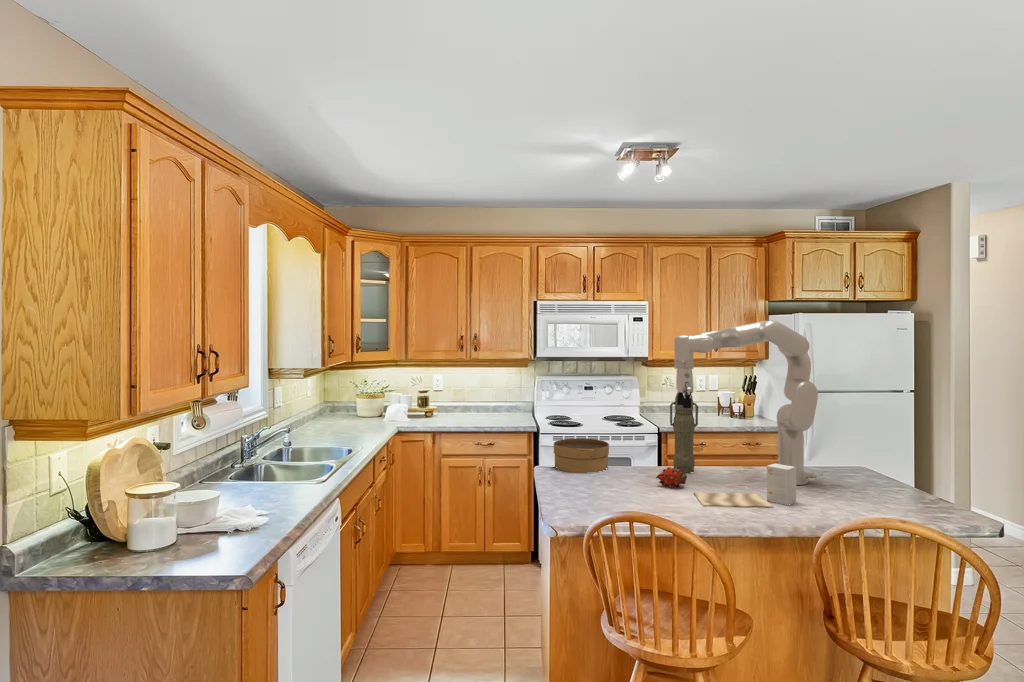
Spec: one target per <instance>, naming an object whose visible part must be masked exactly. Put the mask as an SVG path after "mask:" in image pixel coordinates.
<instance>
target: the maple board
mask: <svg viewBox="0 0 1024 682" xmlns="http://www.w3.org/2000/svg"><path fill="white" fill-rule="evenodd" d="M693 495H694V497H695V496H696V497H697V498H696V497H695V498H696V499H697V501H698V502H699V501H700V502H699V503H700V504H701V506H702V505H703V506H702V507H707V506H734V507H733V508H751V507H773V508H774V506H773V504H772V503H770V501H767V499H765V497H764V496H762V495H761V494H760V493H742V492H741V493H736V492H735V493H734V492H696V491H695V492H693Z"/></svg>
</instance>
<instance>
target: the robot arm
mask: <svg viewBox="0 0 1024 682" xmlns="http://www.w3.org/2000/svg"><path fill="white" fill-rule="evenodd" d="M673 342H674V344H673V345H674V346H673V347H674V369H675V370H676V376H675V377H676V379H675V385H676V391H677V393H676V394H677V405H683V408H691V394H693V393H694V377H693V370H694V353H701V354H707V353H710V352H711V351H712V350H716V349H725V348H741V347H744V346H745V347H746V346H750V345H755V344H761V343H765V342H770V343H772V344H773V345H776V346H777V348H778V351H779V352H780V353H781V354H782V355H783V356H784V357H785V358H786V362H787V372H786V378H785V383H784V388H783V394H784V397H786V398H787V399H788V400H789V401H790V402H791V403H787V404H783V405H782V406H780V407H779V408H778V411H777V412H776V424H777V435H778V440H777V441H778V444H777V446H778V448H777V449H778V451H777V452H778V454H777V455H778V457H777V459H778V460H777V461H778V463H777V464H781V465H787V466H793V467H796V486H803V485H808V483H809V481H808V479H817V473H815V472H807V471H805V470H804V466H805V462H804V461H805V459H804V457H805V456H804V455H805V436H804V432H806V431H808V430H809V429H810V428H811V427H812V426H813V423H814V421H815V415H816V411H817V405H818V399H819V392H818V388H817V386H816V385H815V384H814V383H813V382H811V381H810V378H811V373H812V372H811V371H812V363H811V362H812V361H811V358H810V355H809V353H808V352H809V351H810V342H809V340H808V339H807V338H806V337H805V336H803V335H802V334H800V333H798V332H797V331H795V330H793V329H792V328H790V327H788V326H787V325H785V324H783V323H781V322H779V321H778V320H761V321H757V322H752V323H747V324H742V325H736V326H731V327H727V328H724V329H719V330H714V331H710V332H709V331H708V332H704V333H698V334H695V335H689V334H688V335H687V334H680V335H675V337H674V341H673Z"/></svg>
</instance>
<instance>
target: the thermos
mask: <svg viewBox="0 0 1024 682" xmlns="http://www.w3.org/2000/svg"><path fill="white" fill-rule="evenodd" d="M675 394H676V395H675V397H674V402H673V401H672V402H671V403H670V405H669V425H670V426H672V427H673V433H674V453H673V454H674V455H673V458H672V459H673V463H672V464H673V468H674V469H675V467H677V468H678V469H680V470H683V472H684V473H689V474H691V473H690V472H695V456H694V434H695V428H696V427H697V426H698V425H699V406H698V404H697V403H696V402H694V399H693V395H692V394H693V393H691V408H683V405H677V393H675ZM673 406H674V409H675V412H674V417H673ZM694 407H695V417H694V413H693V412H694Z"/></svg>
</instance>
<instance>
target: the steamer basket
mask: <svg viewBox="0 0 1024 682" xmlns="http://www.w3.org/2000/svg"><path fill="white" fill-rule="evenodd" d="M609 451H610V443H608V442H607V441H604V440H601V439H594V438H581V437H580V438H563V439H560V440H556V441H554V442H553V454H554V468H555V467H557V469H556V470H559V471H560V472H565V473H573V474H588V473H587V472H596V473H600V472H599V471H602V472H604V471H603V470H605V471H607V470H606V468H608V469H609V453H610V452H609Z"/></svg>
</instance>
